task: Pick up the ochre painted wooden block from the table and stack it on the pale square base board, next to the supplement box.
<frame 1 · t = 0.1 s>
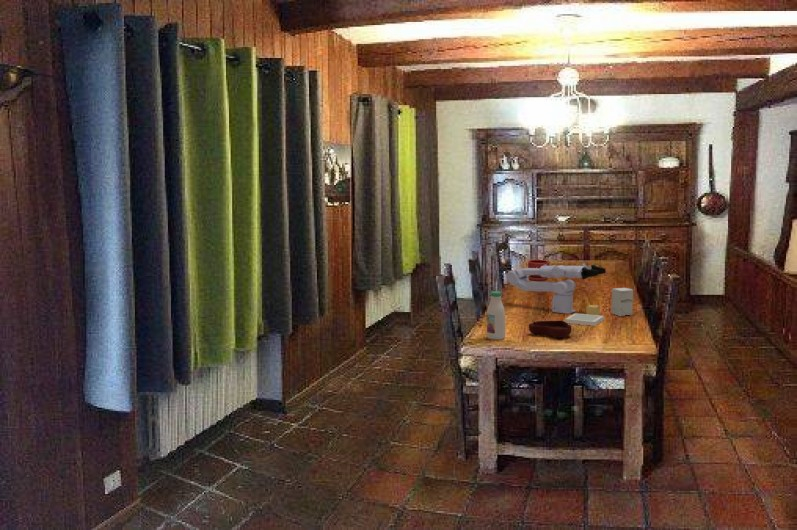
hand: (601, 272, 340), 22 cm above the table, tool horizontal, fingers open, 7 cm apart
plant pot: (538, 280, 454), on the table
milk bottle: (496, 338, 307), on the table
block: (592, 316, 344), on the table
supplement box: (621, 315, 347), on the table
base: (584, 321, 334), on the table
ashtray: (553, 335, 311), on the table
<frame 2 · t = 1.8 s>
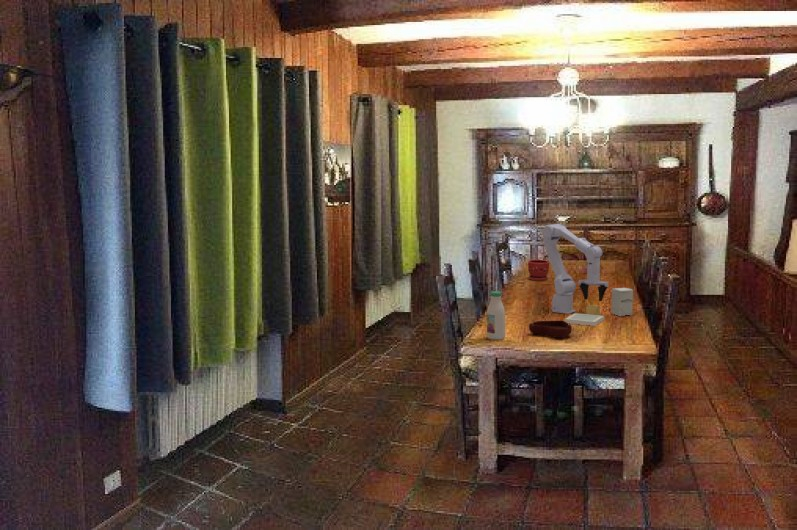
hand: (593, 300, 343), 8 cm above the table, tool pointing down, fingers open, 7 cm apart
nothing on the table moved.
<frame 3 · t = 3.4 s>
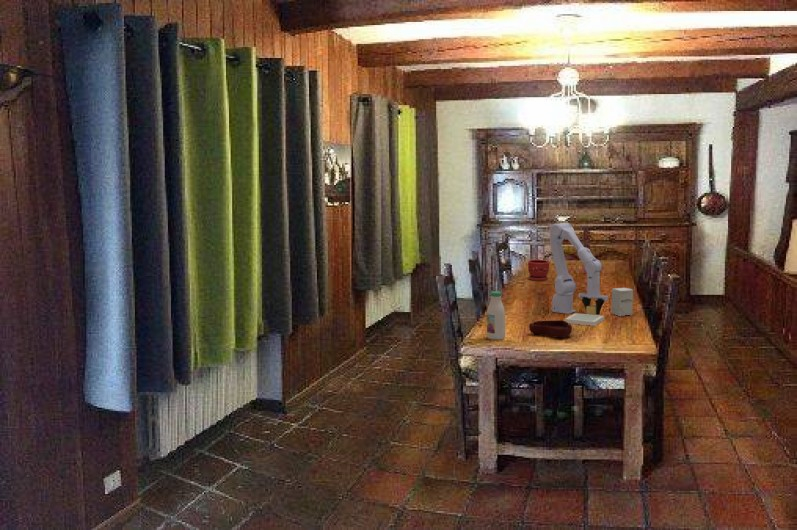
hand: (593, 313, 344), 1 cm above the table, tool pointing down, fingers closed on block, 5 cm apart
block: (593, 316, 344), on the table, touching gripper
everything else where it was.
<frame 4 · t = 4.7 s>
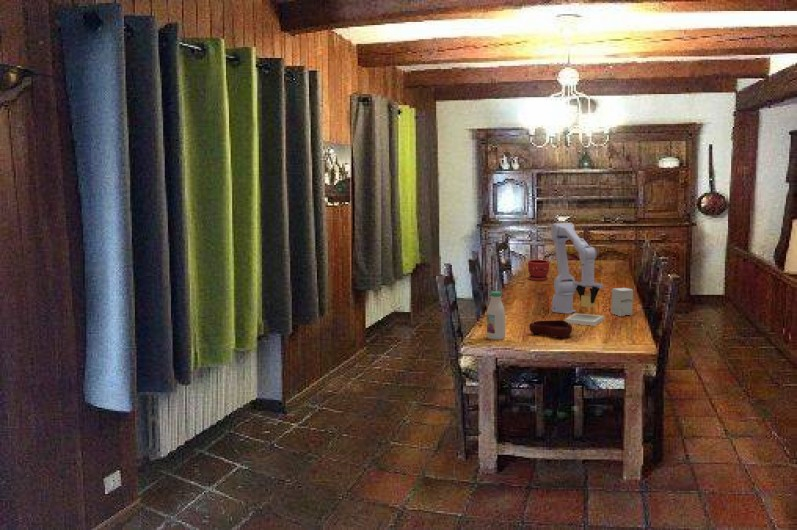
hand: (587, 302, 335), 9 cm above the table, tool pointing down, fingers closed on block, 5 cm apart
block: (587, 306, 336), point 7 cm above the table, touching gripper
everything else where it was.
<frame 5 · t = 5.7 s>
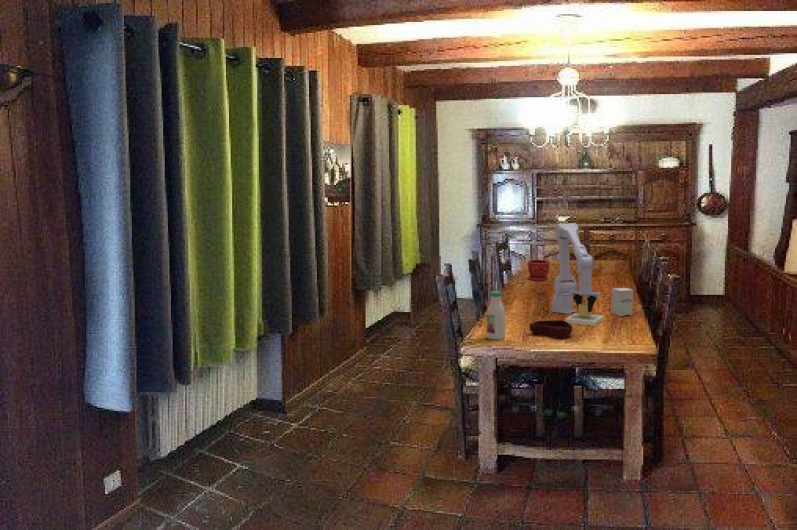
hand: (584, 311, 333), 5 cm above the table, tool pointing down, fingers closed on block, 5 cm apart
block: (585, 315, 334), point 3 cm above the table, touching gripper
everything else where it was.
when the fingers open (5 cm above the table, at t = 6.4 s): block stays where it is, resting on base.
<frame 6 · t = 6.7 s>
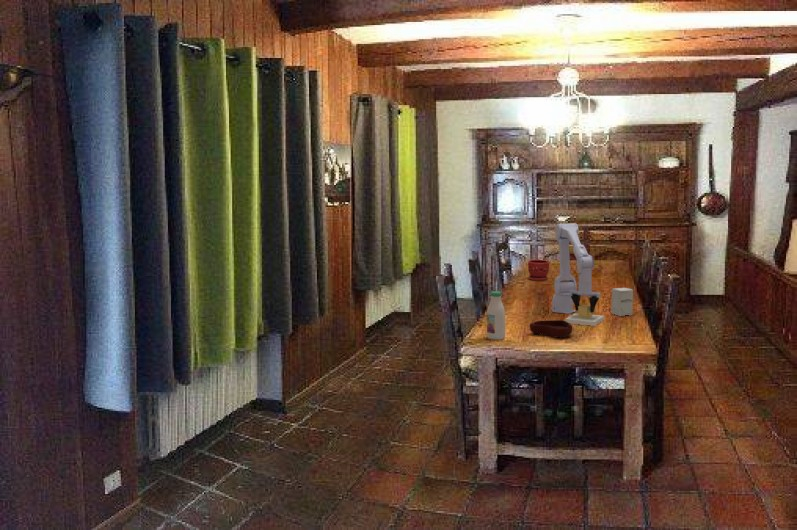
hand: (584, 311, 333), 5 cm above the table, tool pointing down, fingers open, 7 cm apart
block: (585, 317, 334), point 2 cm above the table, touching base
everything else where it was.
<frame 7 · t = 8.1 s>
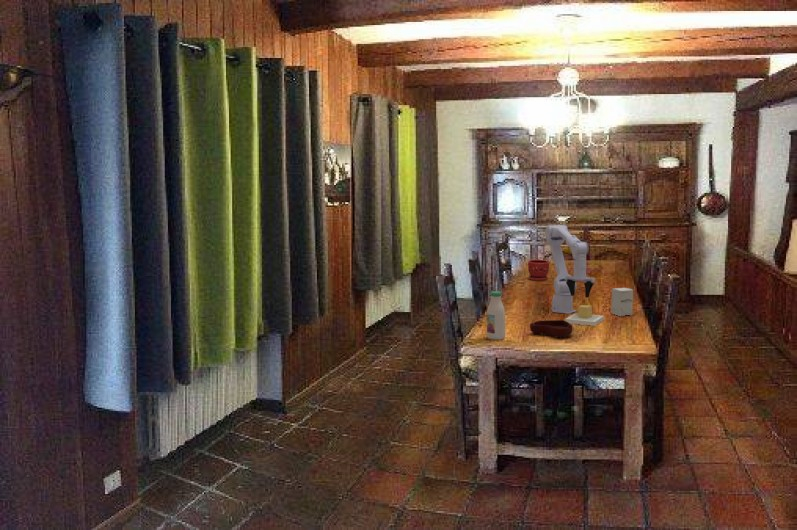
hand: (579, 296, 340), 10 cm above the table, tool pointing down, fingers open, 7 cm apart
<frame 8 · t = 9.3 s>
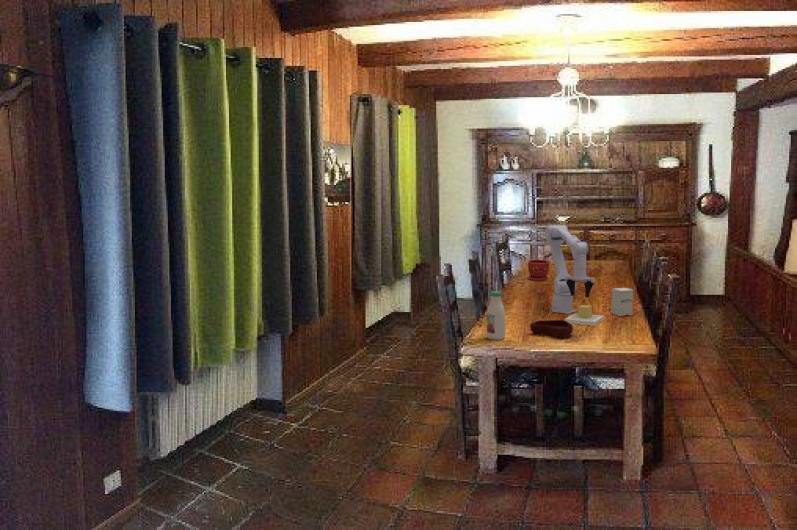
hand: (579, 296, 340), 10 cm above the table, tool pointing down, fingers open, 7 cm apart
at the end: block inside the target area on the base (0.3 cm from its centre), point 2.1 cm above the base's base; block tilted 0°; the gripper is holding nothing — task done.
